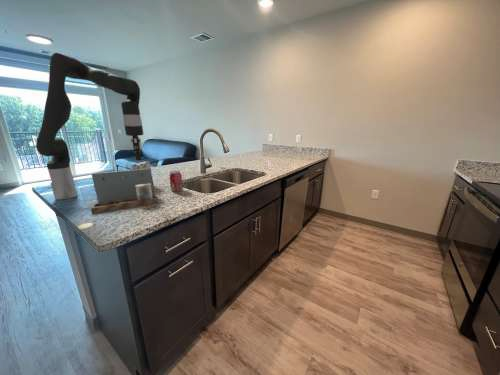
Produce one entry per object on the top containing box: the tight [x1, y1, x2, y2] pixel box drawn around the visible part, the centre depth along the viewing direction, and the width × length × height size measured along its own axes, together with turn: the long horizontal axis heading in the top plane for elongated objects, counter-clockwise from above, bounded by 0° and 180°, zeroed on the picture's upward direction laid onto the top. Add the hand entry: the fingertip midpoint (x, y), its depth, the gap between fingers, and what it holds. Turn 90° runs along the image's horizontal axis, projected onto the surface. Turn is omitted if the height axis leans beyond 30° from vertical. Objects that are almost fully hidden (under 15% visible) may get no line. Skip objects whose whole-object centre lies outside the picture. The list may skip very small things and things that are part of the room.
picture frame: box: [135, 183, 153, 201], centre depth 108 cm, size 7×3×10 cm, turn 117°
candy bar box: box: [131, 161, 154, 185], centre depth 132 cm, size 11×5×16 cm, turn 168°
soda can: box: [169, 170, 184, 193], centre depth 127 cm, size 7×7×12 cm
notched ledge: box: [90, 194, 158, 214], centre depth 105 cm, size 28×7×3 cm, turn 117°
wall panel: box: [91, 169, 155, 203], centre depth 112 cm, size 27×3×16 cm, turn 117°
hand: (138, 158), depth 102 cm, fingers open, 8 cm apart
